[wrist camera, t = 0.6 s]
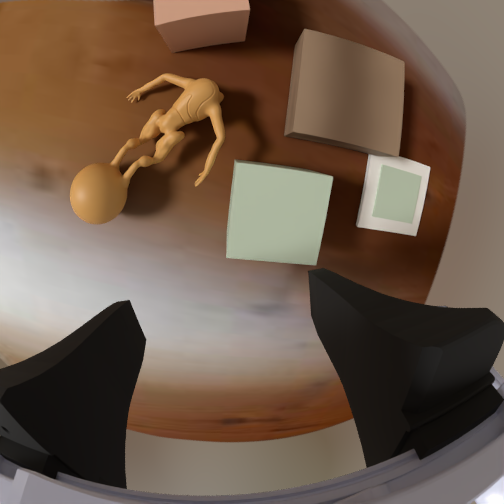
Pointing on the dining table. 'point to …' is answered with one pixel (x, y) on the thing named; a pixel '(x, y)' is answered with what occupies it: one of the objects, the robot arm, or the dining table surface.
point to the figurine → (182, 112)
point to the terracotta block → (201, 22)
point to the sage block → (276, 213)
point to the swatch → (393, 194)
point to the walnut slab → (345, 95)
